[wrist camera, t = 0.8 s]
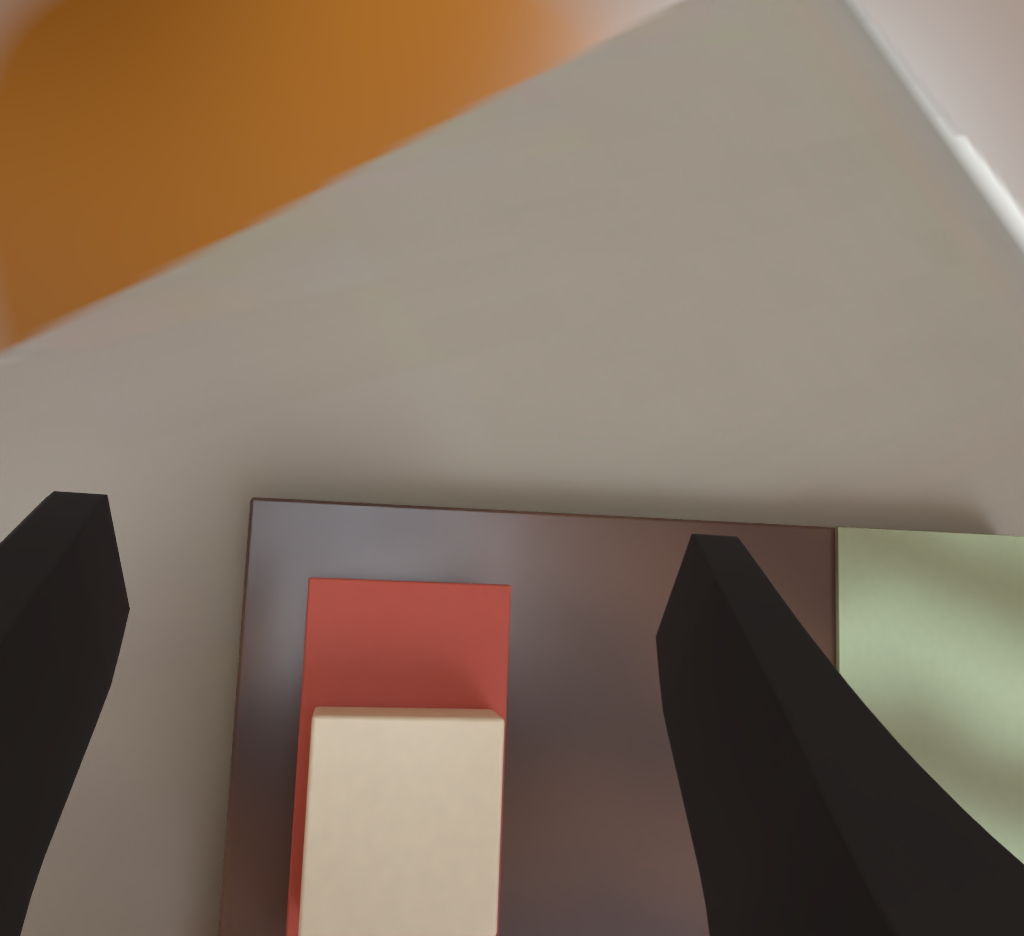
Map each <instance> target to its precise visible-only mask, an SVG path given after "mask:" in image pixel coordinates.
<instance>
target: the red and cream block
mask: <svg viewBox="0 0 1024 936" xmlns="http://www.w3.org/2000/svg"><path fill="white" fill-rule="evenodd" d="M510 600H511V586H510V585H498V584H472V583H446V582H420V581H394V580H368V579H342V578H316V577H311V578H309V582H308V598H307V613H306V629H305V644H304V660H303V675H302V691H301V706H300V722H299V737H298V753H297V768H296V784H295V799H294V815H293V830H292V846H291V861H290V877H289V892H288V908H287V923H286V936H498V931H499V903H500V876H501V848H502V821H503V793H504V765H505V738H506V710H507V683H508V655H509V628H510Z"/></svg>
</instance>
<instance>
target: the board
mask: <svg viewBox="0 0 1024 936" xmlns="http://www.w3.org/2000/svg"><path fill="white" fill-rule="evenodd" d="M691 534H706V535H721V536H736V537H738V538H739V539H740V540H741V542H742V543H743V544H744V546H745V547H746V548H747V550H748V551H749V552H750V554H751V555H752V556H753V558H754V559H755V561H756V562H757V563H758V565H759V566H760V567H761V569H762V570H763V572H764V573H765V574H766V576H767V577H768V579H769V580H770V581H771V583H772V584H773V586H774V587H775V588H776V590H777V591H778V592H779V594H780V595H781V597H782V598H783V599H784V601H785V602H786V603H787V605H788V606H789V607H790V609H791V610H792V612H793V613H794V614H795V616H796V617H797V618H798V620H799V621H800V622H801V624H802V625H803V626H804V628H805V629H806V630H807V632H808V633H809V634H810V636H811V637H812V638H813V640H814V641H815V642H816V644H817V645H818V646H819V647H820V649H821V650H822V651H823V652H824V654H825V655H826V656H827V658H828V659H829V660H830V661H831V663H832V664H833V665H834V666H835V668H836V669H837V670H838V672H839V673H840V674H841V675H842V677H843V678H844V679H845V680H846V682H847V683H848V684H849V685H850V687H851V688H852V689H853V690H854V691H855V693H856V694H857V695H858V696H859V697H860V699H861V700H862V701H863V702H864V704H865V705H866V706H867V707H868V708H869V709H870V710H871V712H872V713H873V714H874V715H875V716H876V717H877V718H878V720H879V721H880V722H881V723H882V724H883V725H884V727H885V728H886V729H887V730H888V731H889V732H890V733H891V735H892V736H893V737H894V738H895V739H896V740H897V741H898V742H899V744H900V745H901V746H902V747H903V748H904V749H905V750H906V751H907V752H908V753H909V754H910V755H911V756H912V757H913V759H914V760H915V761H916V762H917V763H918V764H919V765H920V766H921V767H922V768H923V769H924V770H925V771H926V772H927V773H928V774H929V775H930V776H931V777H932V778H933V779H934V780H935V781H936V782H937V783H938V784H939V785H940V786H941V787H942V788H943V789H944V790H945V791H946V792H947V793H948V794H949V795H950V796H951V797H952V798H953V799H954V800H955V801H956V802H957V803H958V804H959V805H960V806H961V807H962V808H963V809H964V810H965V811H966V812H967V813H968V814H969V815H970V816H971V817H972V818H973V819H974V820H975V821H977V822H978V823H979V824H980V825H981V826H982V827H983V828H984V829H985V830H986V831H987V832H988V833H989V834H990V835H991V836H993V837H994V838H995V839H996V840H997V841H998V842H999V843H1001V844H1002V845H1003V846H1004V847H1005V848H1006V849H1007V850H1008V851H1010V852H1011V853H1012V854H1013V855H1014V856H1015V857H1016V858H1017V859H1019V860H1020V861H1021V862H1022V863H1023V864H1024V536H1009V535H990V534H970V533H951V532H932V531H912V530H893V529H874V528H854V527H818V526H799V525H780V524H760V523H741V522H721V521H702V520H683V519H663V518H644V517H624V516H605V515H586V514H566V513H547V512H528V511H508V510H489V509H469V508H450V507H431V506H411V505H392V504H372V503H353V502H334V501H314V500H295V499H275V498H256V497H254V498H252V499H251V501H250V513H249V527H248V540H247V554H246V567H245V581H244V595H243V608H242V622H241V636H240V649H239V663H238V676H237V690H236V704H235V717H234V731H233V744H232V758H231V772H230V785H229V799H228V813H227V826H226V840H225V853H224V867H223V881H222V894H221V908H220V921H219V935H218V936H286V923H287V908H288V892H289V877H290V861H291V846H292V830H293V815H294V799H295V784H296V768H297V753H298V737H299V722H300V706H301V691H302V675H303V660H304V644H305V629H306V613H307V598H308V582H309V578H311V577H316V578H342V579H368V580H394V581H420V582H446V583H472V584H498V585H510V586H511V600H510V628H509V655H508V683H507V710H506V738H505V765H504V793H503V821H502V848H501V876H500V903H499V931H498V936H710V935H709V927H708V919H707V911H706V905H705V900H704V894H703V889H702V884H701V878H700V873H699V868H698V864H697V860H696V855H695V851H694V847H693V842H692V838H691V833H690V829H689V825H688V820H687V816H686V812H685V807H684V803H683V799H682V794H681V790H680V786H679V781H678V777H677V773H676V768H675V764H674V759H673V755H672V750H671V746H670V741H669V737H668V732H667V728H666V723H665V718H664V714H663V708H662V699H661V690H660V681H659V671H658V660H657V648H656V634H657V631H658V628H659V626H660V623H661V620H662V617H663V614H664V611H665V608H666V606H667V603H668V600H669V597H670V594H671V591H672V588H673V586H674V583H675V580H676V577H677V574H678V571H679V568H680V566H681V563H682V560H683V557H684V554H685V551H686V548H687V546H688V543H689V540H690V537H691Z"/></svg>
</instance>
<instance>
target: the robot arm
mask: <svg viewBox="0 0 1024 936" xmlns="http://www.w3.org/2000/svg"><path fill="white" fill-rule="evenodd" d="M129 610H130V608H129V603H128V598H127V593H126V588H125V583H124V578H123V573H122V567H121V562H120V557H119V552H118V547H117V542H116V537H115V532H114V527H113V522H112V517H111V512H110V506H109V501H108V496H107V495H103V494H88V493H73V492H57V491H54V492H53V493H51V494H50V495H49V496H48V497H46V498H45V499H44V500H43V501H42V502H41V503H40V504H39V505H38V506H37V507H36V508H35V509H34V510H33V511H32V512H31V513H30V514H29V515H28V516H27V517H26V518H25V519H24V520H23V521H22V522H21V523H20V524H19V525H18V526H17V527H16V528H15V529H14V530H13V531H12V532H11V533H10V534H9V535H8V536H7V537H6V538H5V539H4V540H3V541H2V542H1V543H0V936H20V934H21V931H22V927H23V923H24V920H25V916H26V913H27V909H28V905H29V902H30V898H31V895H32V892H33V889H34V886H35V883H36V880H37V877H38V874H39V871H40V868H41V866H42V863H43V860H44V857H45V854H46V852H47V849H48V846H49V844H50V841H51V839H52V836H53V834H54V831H55V829H56V826H57V823H58V821H59V818H60V816H61V813H62V811H63V808H64V805H65V803H66V800H67V798H68V795H69V793H70V790H71V788H72V785H73V782H74V780H75V777H76V775H77V772H78V770H79V767H80V765H81V762H82V759H83V757H84V754H85V752H86V749H87V747H88V744H89V741H90V739H91V736H92V734H93V731H94V728H95V726H96V723H97V721H98V718H99V715H100V713H101V710H102V708H103V705H104V702H105V700H106V697H107V694H108V692H109V689H110V686H111V683H112V679H113V675H114V671H115V667H116V663H117V660H118V656H119V652H120V648H121V644H122V639H123V635H124V631H125V627H126V622H127V618H128V614H129ZM656 648H657V660H658V671H659V681H660V690H661V699H662V708H663V714H664V718H665V723H666V728H667V732H668V737H669V741H670V746H671V750H672V755H673V759H674V764H675V768H676V773H677V777H678V781H679V786H680V790H681V794H682V799H683V803H684V807H685V812H686V816H687V820H688V825H689V829H690V833H691V838H692V842H693V847H694V851H695V855H696V860H697V864H698V868H699V873H700V878H701V884H702V889H703V894H704V900H705V905H706V911H707V919H708V927H709V935H710V936H1024V864H1023V863H1022V862H1021V861H1020V860H1019V859H1017V858H1016V857H1015V856H1014V855H1013V854H1012V853H1011V852H1010V851H1008V850H1007V849H1006V848H1005V847H1004V846H1003V845H1002V844H1001V843H999V842H998V841H997V840H996V839H995V838H994V837H993V836H991V835H990V834H989V833H988V832H987V831H986V830H985V829H984V828H983V827H982V826H981V825H980V824H979V823H978V822H977V821H975V820H974V819H973V818H972V817H971V816H970V815H969V814H968V813H967V812H966V811H965V810H964V809H963V808H962V807H961V806H960V805H959V804H958V803H957V802H956V801H955V800H954V799H953V798H952V797H951V796H950V795H949V794H948V793H947V792H946V791H945V790H944V789H943V788H942V787H941V786H940V785H939V784H938V783H937V782H936V781H935V780H934V779H933V778H932V777H931V776H930V775H929V774H928V773H927V772H926V771H925V770H924V769H923V768H922V767H921V766H920V765H919V764H918V763H917V762H916V761H915V760H914V759H913V757H912V756H911V755H910V754H909V753H908V752H907V751H906V750H905V749H904V748H903V747H902V746H901V745H900V744H899V742H898V741H897V740H896V739H895V738H894V737H893V736H892V735H891V733H890V732H889V731H888V730H887V729H886V728H885V727H884V725H883V724H882V723H881V722H880V721H879V720H878V718H877V717H876V716H875V715H874V714H873V713H872V712H871V710H870V709H869V708H868V707H867V706H866V705H865V704H864V702H863V701H862V700H861V699H860V697H859V696H858V695H857V694H856V693H855V691H854V690H853V689H852V688H851V687H850V685H849V684H848V683H847V682H846V680H845V679H844V678H843V677H842V675H841V674H840V673H839V672H838V670H837V669H836V668H835V666H834V665H833V664H832V663H831V661H830V660H829V659H828V658H827V656H826V655H825V654H824V652H823V651H822V650H821V649H820V647H819V646H818V645H817V644H816V642H815V641H814V640H813V638H812V637H811V636H810V634H809V633H808V632H807V630H806V629H805V628H804V626H803V625H802V624H801V622H800V621H799V620H798V618H797V617H796V616H795V614H794V613H793V612H792V610H791V609H790V607H789V606H788V605H787V603H786V602H785V601H784V599H783V598H782V597H781V595H780V594H779V592H778V591H777V590H776V588H775V587H774V586H773V584H772V583H771V581H770V580H769V579H768V577H767V576H766V574H765V573H764V572H763V570H762V569H761V567H760V566H759V565H758V563H757V562H756V561H755V559H754V558H753V556H752V555H751V554H750V552H749V551H748V550H747V548H746V547H745V546H744V544H743V543H742V542H741V540H740V539H739V538H738V537H736V536H721V535H706V534H691V537H690V540H689V543H688V546H687V548H686V551H685V554H684V557H683V560H682V563H681V566H680V568H679V571H678V574H677V577H676V580H675V583H674V586H673V588H672V591H671V594H670V597H669V600H668V603H667V606H666V608H665V611H664V614H663V617H662V620H661V623H660V626H659V628H658V631H657V634H656Z"/></svg>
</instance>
